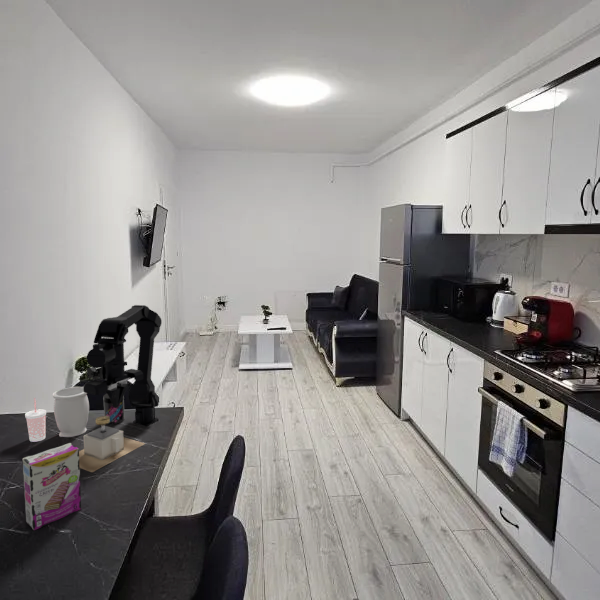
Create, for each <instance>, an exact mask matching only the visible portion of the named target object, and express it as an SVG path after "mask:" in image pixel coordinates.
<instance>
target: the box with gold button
mask: <svg viewBox="0 0 600 600" xmlns="http://www.w3.org/2000/svg"><path fill="white" fill-rule="evenodd" d="M82 437H83V449H84V454H85V455H88V456H91V457H94V458H97V459H100V460H104V459H106V458H108V457H110V456H112V455H114V454H116V453H118V452H120V451H122V450H123V449H124V440H123V437H124V430H120V429H118V428H114V427H111V426H109V425H108V426H107V425H105V432H104V433H102V427H99V428H96V429H94V430H92V431H90V432H87V433H86V434H84V435H83V436H82Z"/></svg>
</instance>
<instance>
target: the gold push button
mask: <svg viewBox="0 0 600 600" xmlns="http://www.w3.org/2000/svg"><path fill="white" fill-rule="evenodd" d="M109 422H110V417H109V416H104V415H101V416H98V417H96V418H95V425H98V426H101V427H102V433H104V432H105V426H106V425H109V424H108V423H109Z"/></svg>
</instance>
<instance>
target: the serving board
mask: <svg viewBox="0 0 600 600" xmlns="http://www.w3.org/2000/svg"><path fill="white" fill-rule="evenodd" d="M123 440H124V449H123V450H122V451H120V452H118V453H116V454H114V455H112V456H110V457H108V458H106V459H104V460H100V459H97V458H94V457H91V456H88V455H85V454H84V448H83V449H81V450H79V467H80V470H81V469H82V470H85V471H86V472H90V473H94V472H96V471H97V470H99V469H101V468H103V467H105V466H106V465H109V464H110V463H113V462H115V461H116V460H118V459H119V458H122V457H124V456H126V455H127V454H129V453H131V452H133V451H135V450H137V449H139V448H140V447H142V446H144V445H146V443H145V442H141V441H137V440H135V439H132V438H128V437H126V436H125V437H124V436H123Z"/></svg>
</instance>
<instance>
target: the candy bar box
mask: <svg viewBox="0 0 600 600" xmlns="http://www.w3.org/2000/svg"><path fill="white" fill-rule="evenodd" d="M79 451H80V448H78V447H77V446H76V445H74V444H73V443H71V442H68V443H66V444H62V445H59V446H57V447H53V448H50V449H47V450H44V451H41V452H37V453H34V454H31V455H27V456H25V457H23V458H22V460H21V461H22V475H23V476H22V477H23V490H24V507H25V508H24V509H25V521H26V523H27V525H29V527H30V528H31V529H32V530H33V531H36V530H39V529H40V528H43V527H44V526H48V525H49V524H51V523H53V522H56V521H58V520H60V519H62V518H65V517H67V516H69V515H71V514H74V513H77V512H78V511H80V510H82V496H81V495H82V493H81V476H80V475H81V468H80V467H79Z"/></svg>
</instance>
